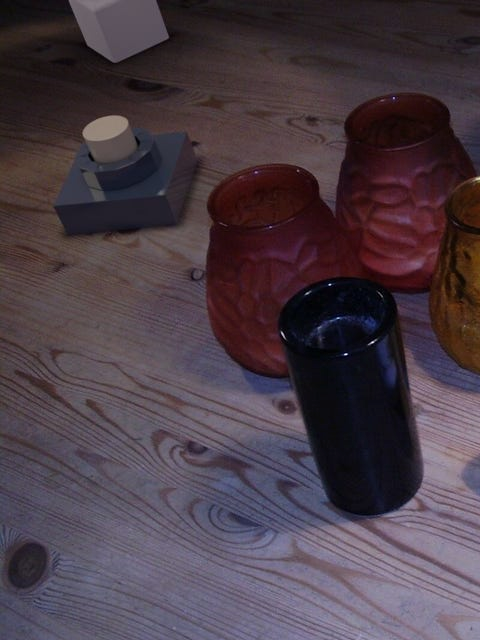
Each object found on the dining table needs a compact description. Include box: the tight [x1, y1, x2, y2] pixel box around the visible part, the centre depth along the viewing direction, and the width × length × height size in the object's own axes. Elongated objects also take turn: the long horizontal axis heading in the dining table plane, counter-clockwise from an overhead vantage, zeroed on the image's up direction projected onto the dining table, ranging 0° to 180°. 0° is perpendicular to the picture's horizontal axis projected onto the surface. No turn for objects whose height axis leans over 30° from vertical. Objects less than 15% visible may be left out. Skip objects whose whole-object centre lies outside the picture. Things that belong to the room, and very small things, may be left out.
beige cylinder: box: [82, 114, 138, 164], centre depth 88 cm, size 4×4×3 cm
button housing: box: [52, 126, 198, 236], centre depth 91 cm, size 10×10×6 cm
